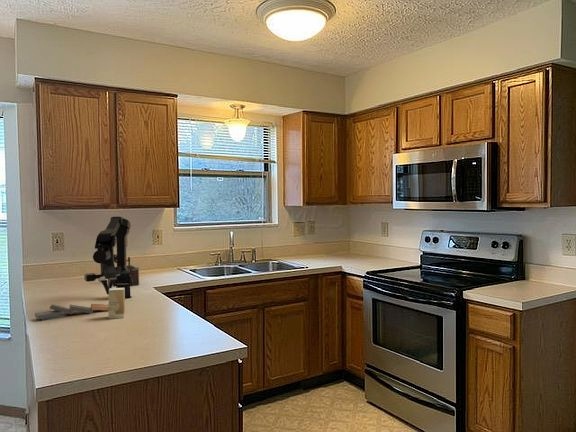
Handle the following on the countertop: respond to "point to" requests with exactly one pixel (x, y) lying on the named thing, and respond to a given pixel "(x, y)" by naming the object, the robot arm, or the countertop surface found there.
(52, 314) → the domino
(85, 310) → the domino
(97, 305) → the domino
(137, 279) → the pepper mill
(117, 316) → the skincare box
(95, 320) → the countertop surface
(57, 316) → the domino
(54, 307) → the domino
